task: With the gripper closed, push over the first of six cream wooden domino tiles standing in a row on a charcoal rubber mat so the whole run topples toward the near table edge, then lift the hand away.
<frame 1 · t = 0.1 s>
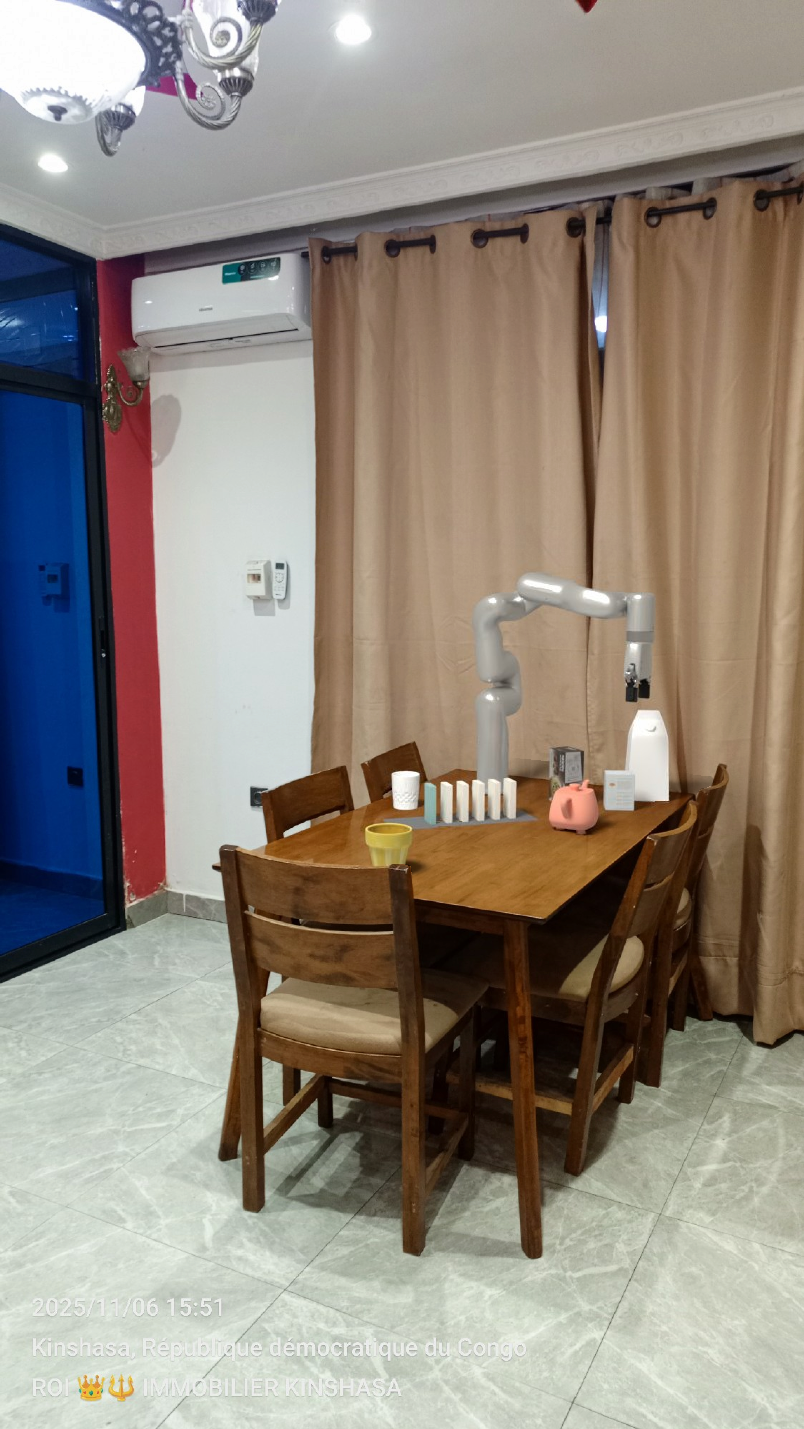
hand: (637, 700, 265), 31 cm above the table, tool pointing down, fingers open, 9 cm apart
domino 5: (446, 820, 255), resting on mat
mat: (460, 821, 256), on the table
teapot: (574, 829, 249), on the table
plant pot: (388, 871, 213), on the table
domino 2: (493, 817, 259), resting on mat
milk: (645, 797, 286), on the table
domino 6: (430, 821, 254), resting on mat
domino 4: (462, 819, 257), resting on mat
domino 1: (509, 816, 260), resting on mat
domino 3: (478, 818, 258), resting on mat
white cup: (405, 809, 271), on the table
coffee box: (565, 804, 277), on the table
small box: (618, 809, 272), on the table
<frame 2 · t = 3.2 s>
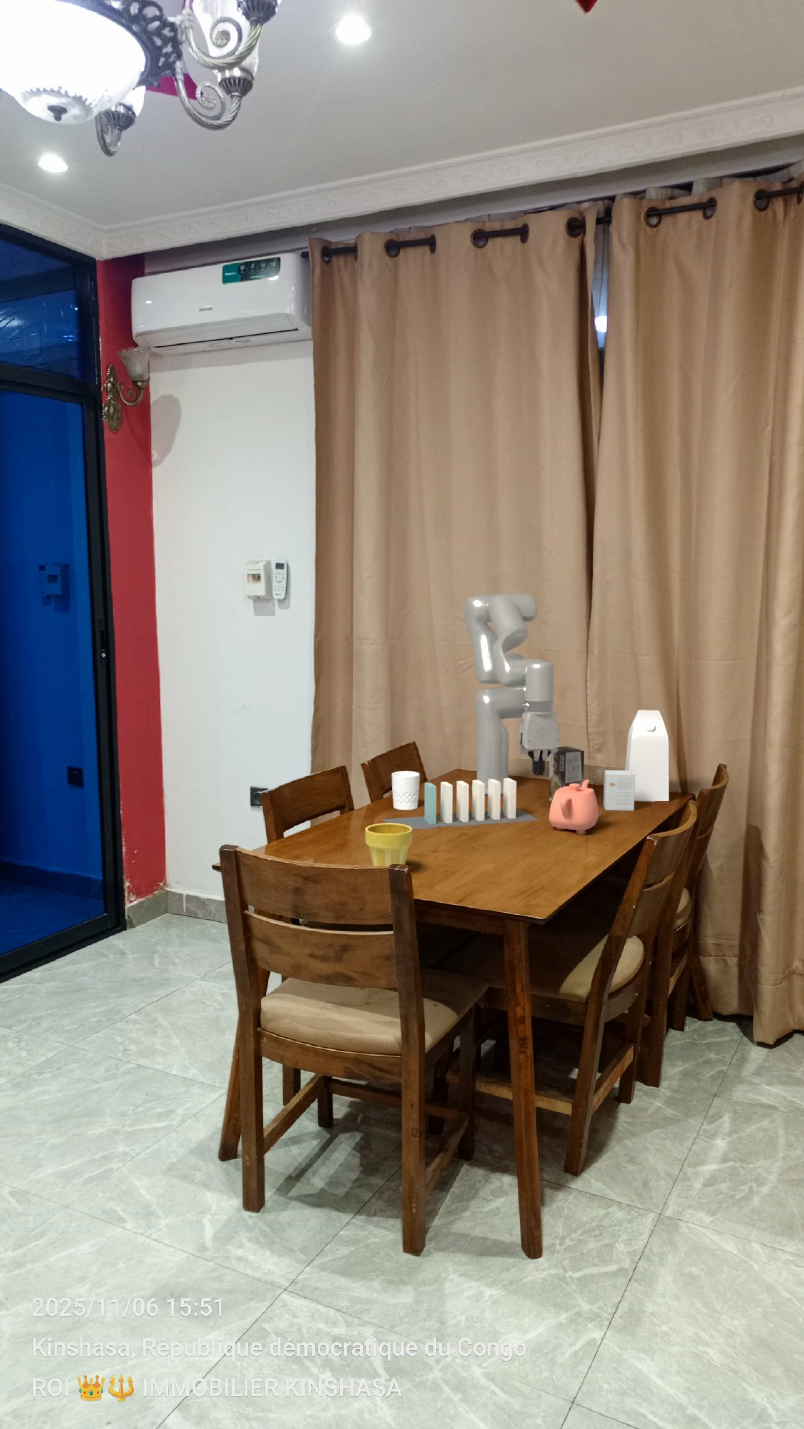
hand: (538, 774, 260), 12 cm above the table, tool pointing down, fingers closed
nothing on the table moved.
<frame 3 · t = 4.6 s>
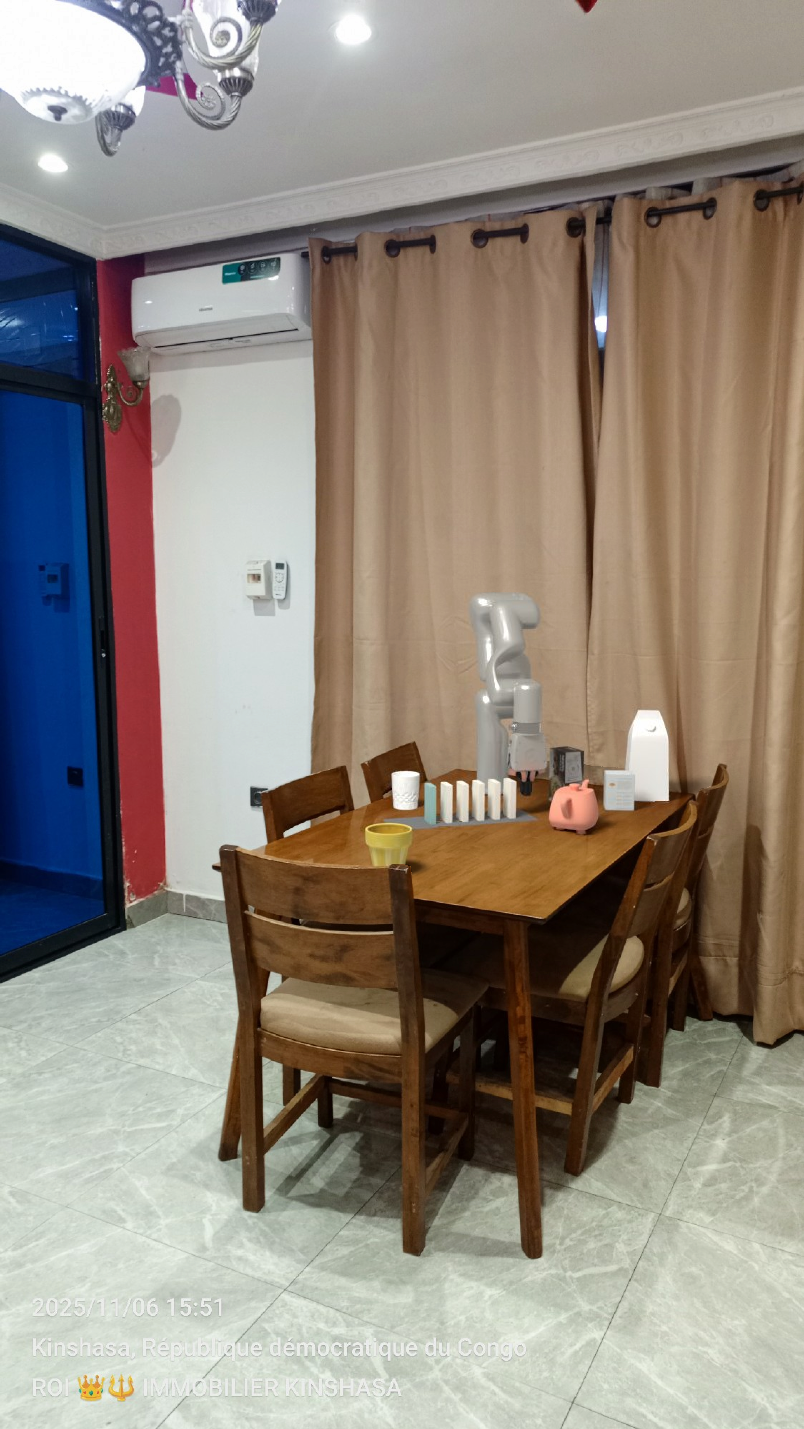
hand: (525, 794, 261), 6 cm above the table, tool pointing down, fingers closed
nothing on the table moved.
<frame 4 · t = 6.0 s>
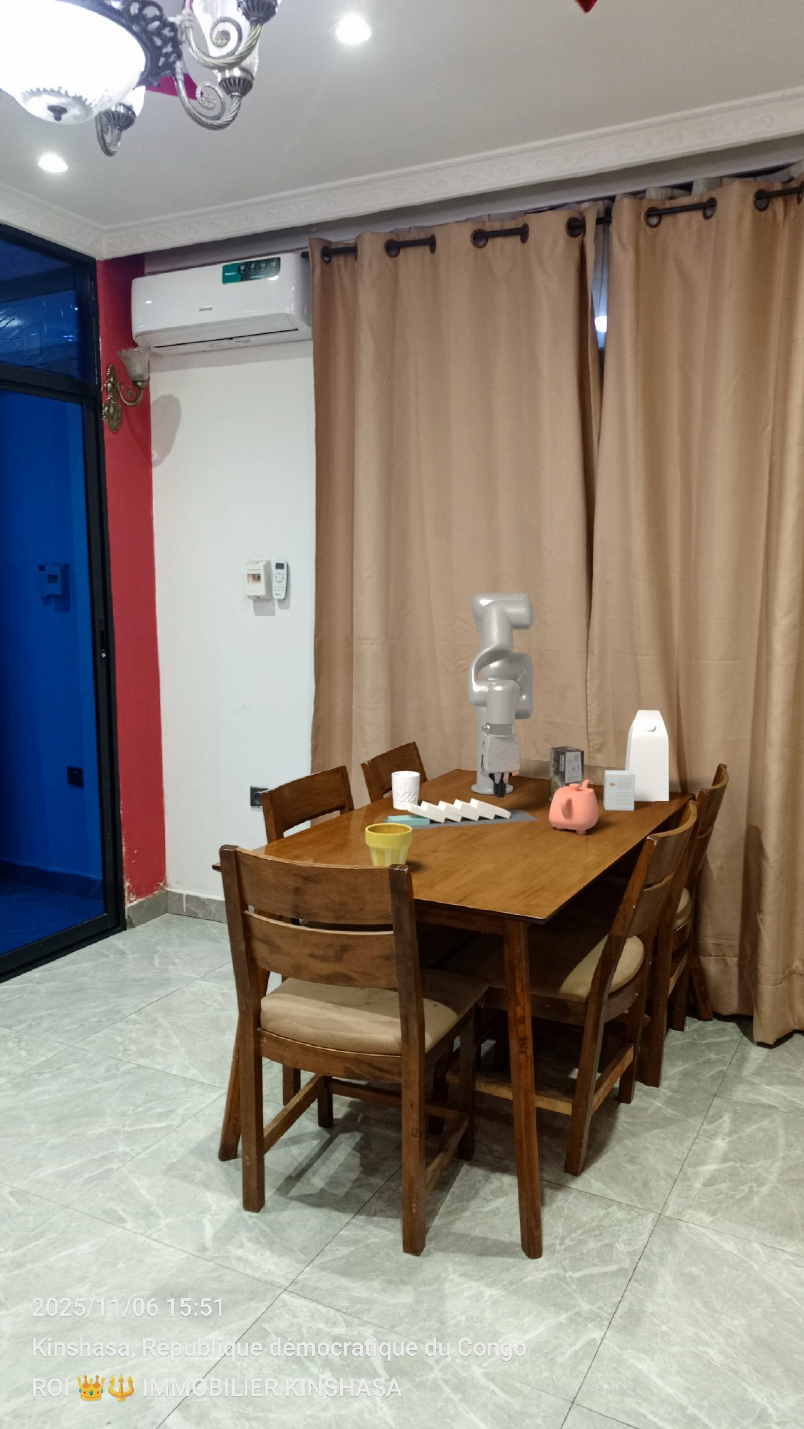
hand: (499, 796, 259), 6 cm above the table, tool pointing down, fingers closed
domino 5: (441, 818, 255), point 1 cm above the table, tilted 68°, touching domino 4, domino 6
domino 2: (490, 814, 259), point 1 cm above the table, tilted 69°, touching domino 1, domino 3
domino 6: (426, 819, 254), point 1 cm above the table, tilted 90°, touching domino 5, mat
domino 4: (457, 817, 256), point 1 cm above the table, tilted 68°, touching domino 3, domino 5, mat
domino 1: (506, 813, 260), point 1 cm above the table, tilted 69°, touching domino 2, mat
domino 3: (475, 815, 257), point 1 cm above the table, tilted 70°, touching domino 2, domino 4, mat
everything else where it was.
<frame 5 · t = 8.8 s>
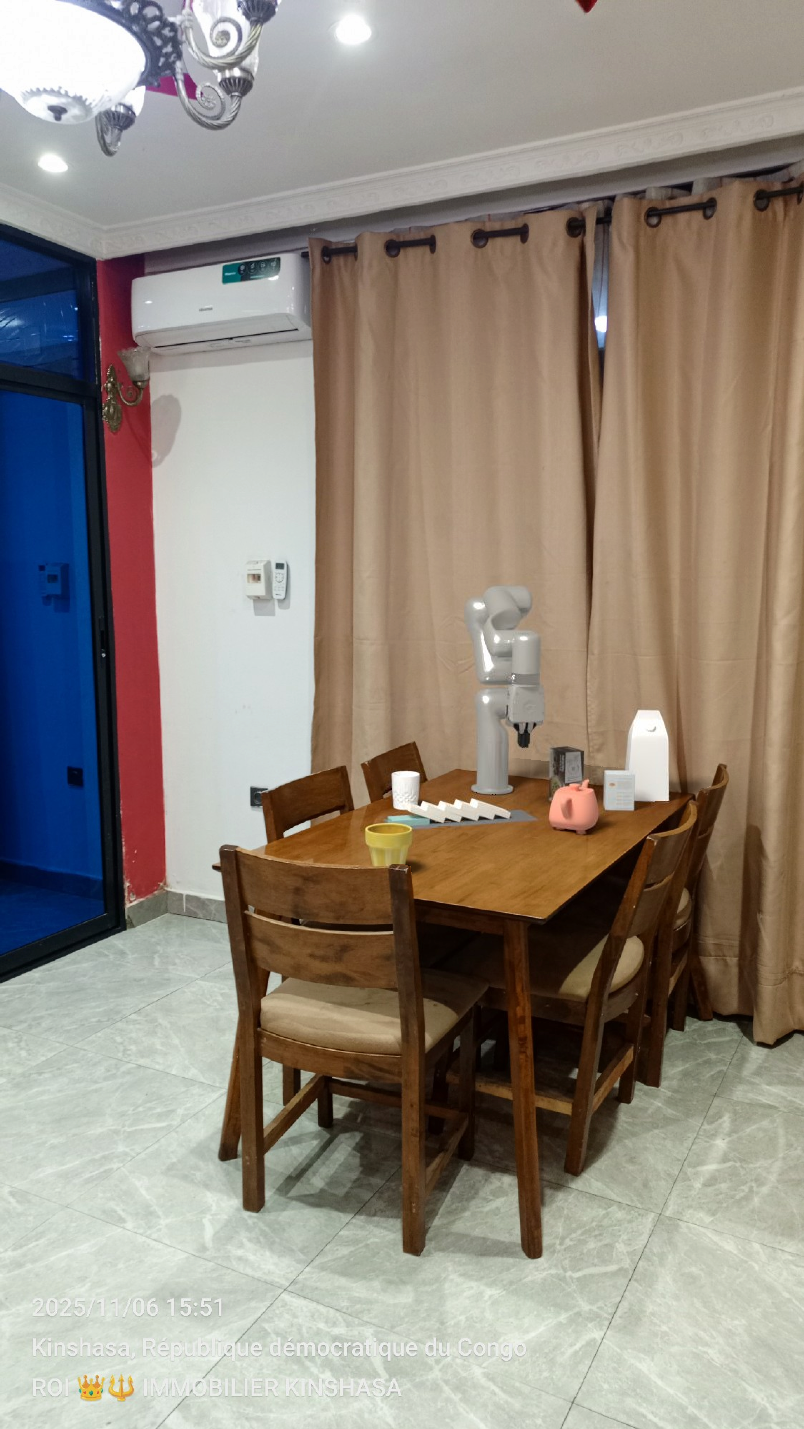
hand: (523, 746, 260), 19 cm above the table, tool pointing down, fingers closed
nothing on the table moved.
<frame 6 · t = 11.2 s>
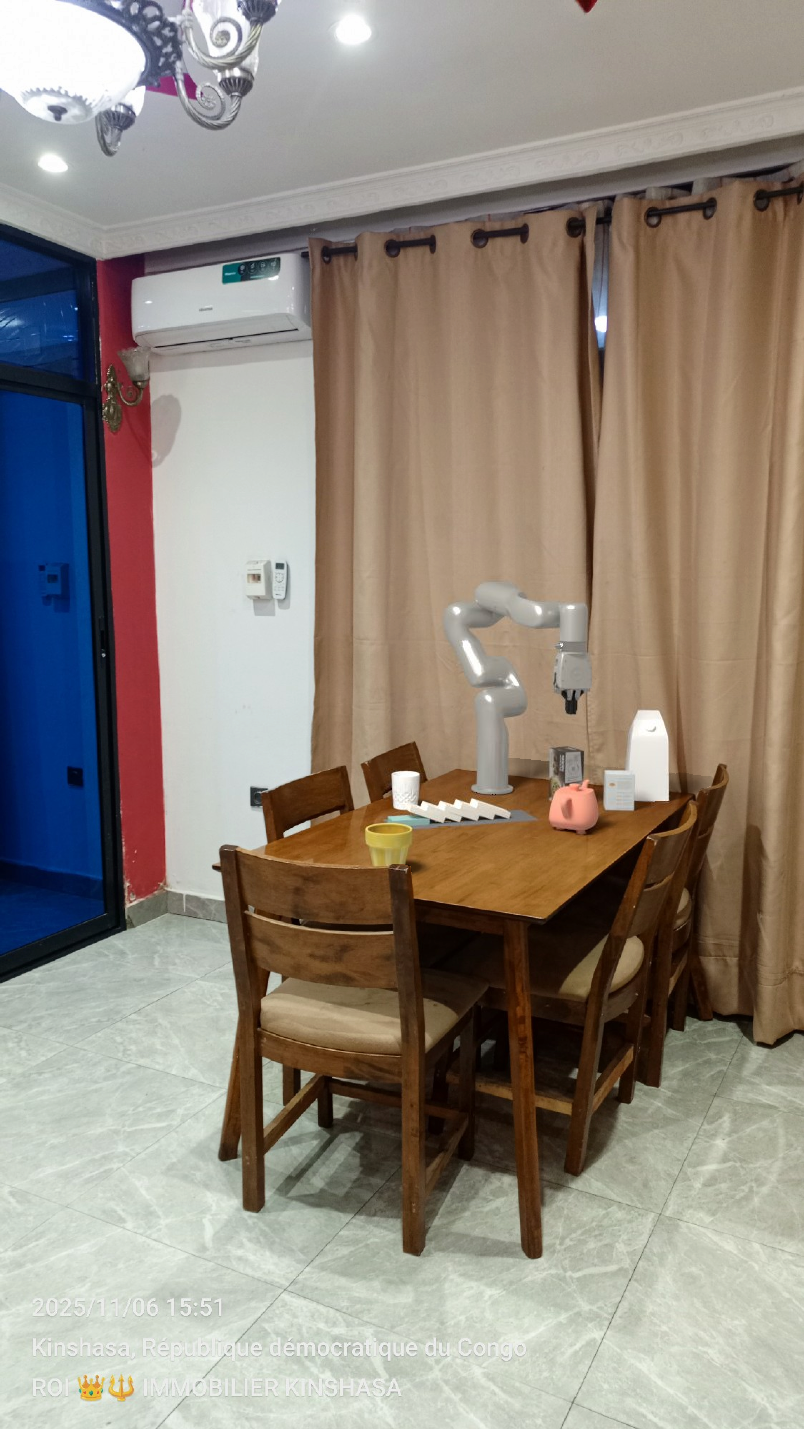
hand: (571, 713, 267), 27 cm above the table, tool pointing down, fingers closed
nothing on the table moved.
at the end: domino 6 tilted 90°; domino 1 tilted 69° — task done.
